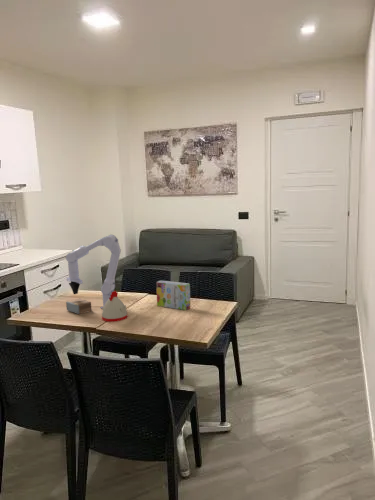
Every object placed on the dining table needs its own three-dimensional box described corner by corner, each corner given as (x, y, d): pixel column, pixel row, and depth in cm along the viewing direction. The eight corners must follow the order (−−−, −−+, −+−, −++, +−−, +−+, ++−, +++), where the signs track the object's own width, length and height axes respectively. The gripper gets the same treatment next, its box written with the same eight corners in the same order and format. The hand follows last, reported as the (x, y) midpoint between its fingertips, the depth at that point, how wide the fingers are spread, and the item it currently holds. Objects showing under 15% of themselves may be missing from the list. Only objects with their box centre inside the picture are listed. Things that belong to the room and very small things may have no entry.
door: (66, 309, 243) (65, 300, 242) (68, 309, 243) (67, 300, 242) (77, 313, 234) (77, 304, 233) (79, 313, 235) (78, 304, 234)
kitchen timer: (131, 314, 230) (130, 289, 228) (119, 322, 217) (117, 295, 215) (110, 313, 235) (108, 287, 232) (97, 320, 222) (95, 294, 220)
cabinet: (91, 310, 240) (90, 301, 240) (79, 313, 235) (78, 305, 234) (80, 306, 249) (80, 298, 248) (69, 310, 243) (68, 301, 242)
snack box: (191, 308, 238) (190, 283, 236) (186, 310, 234) (185, 285, 231) (161, 303, 249) (160, 279, 247) (156, 306, 245) (155, 281, 242)
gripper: (61, 271, 245) (63, 293, 247) (74, 274, 235) (76, 297, 237) (71, 269, 250) (73, 290, 252) (84, 272, 240) (86, 294, 242)
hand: (75, 293), depth 245 cm, fingers closed
